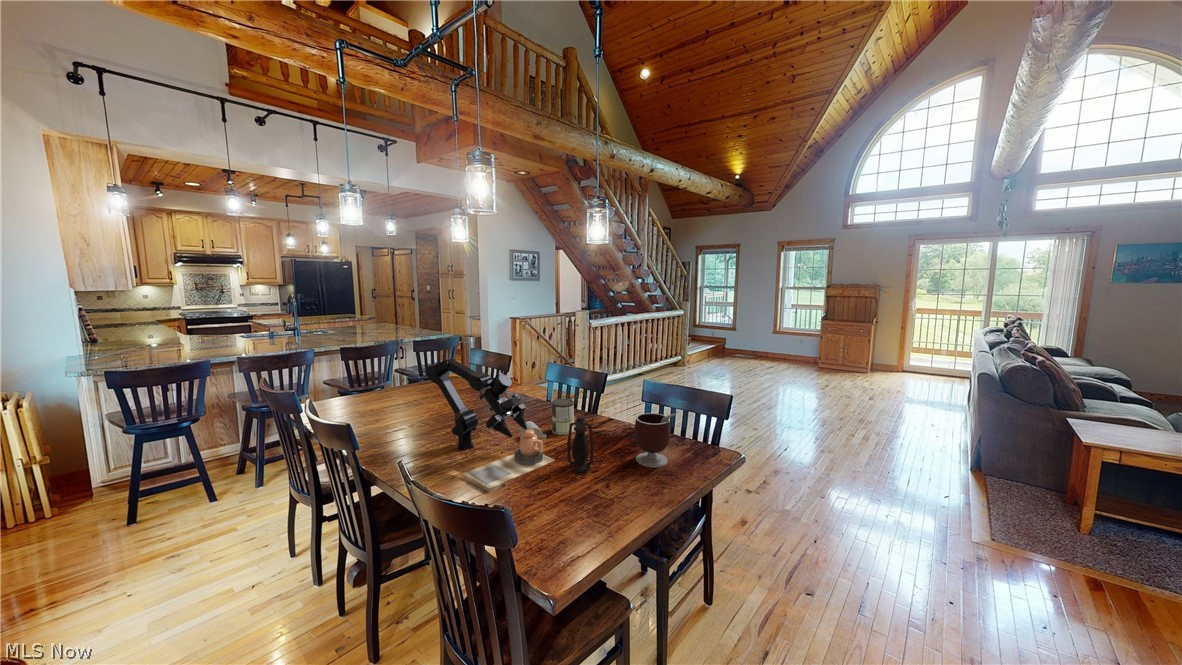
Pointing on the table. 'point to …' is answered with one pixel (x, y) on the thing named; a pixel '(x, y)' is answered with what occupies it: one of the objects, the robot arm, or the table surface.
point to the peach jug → (530, 443)
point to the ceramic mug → (536, 429)
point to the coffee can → (562, 416)
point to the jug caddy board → (505, 470)
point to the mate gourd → (652, 438)
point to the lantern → (580, 444)
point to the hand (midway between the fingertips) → (519, 432)
